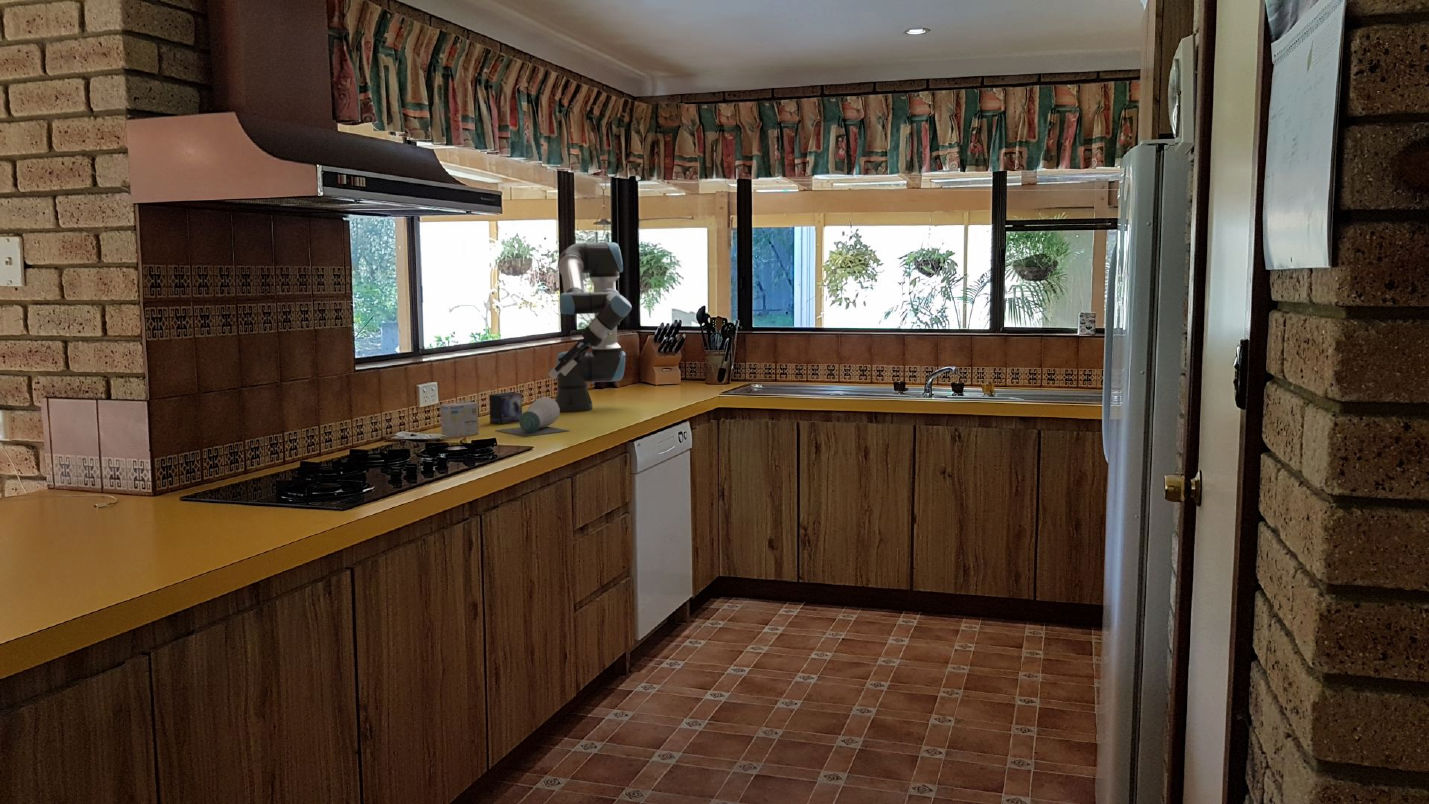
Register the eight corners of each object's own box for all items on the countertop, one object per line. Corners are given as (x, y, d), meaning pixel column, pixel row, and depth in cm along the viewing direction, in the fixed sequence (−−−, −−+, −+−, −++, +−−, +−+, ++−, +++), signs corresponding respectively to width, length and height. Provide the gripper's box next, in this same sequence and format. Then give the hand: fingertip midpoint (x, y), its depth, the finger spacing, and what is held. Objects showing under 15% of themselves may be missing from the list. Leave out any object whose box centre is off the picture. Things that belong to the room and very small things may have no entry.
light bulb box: (468, 432, 363) (467, 401, 362) (479, 434, 358) (478, 402, 357) (440, 436, 356) (439, 404, 354) (451, 438, 351) (449, 405, 349)
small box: (501, 424, 381) (500, 395, 380) (489, 423, 385) (487, 394, 384) (523, 421, 389) (522, 392, 388) (511, 420, 393) (510, 391, 392)
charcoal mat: (538, 425, 376) (538, 424, 376) (569, 431, 361) (569, 430, 361) (495, 431, 365) (495, 430, 365) (525, 436, 350) (525, 435, 350)
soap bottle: (565, 407, 372) (544, 422, 350) (551, 429, 375) (529, 445, 353) (543, 390, 372) (520, 404, 351) (528, 412, 375) (505, 427, 353)
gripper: (593, 341, 363) (553, 386, 367) (612, 337, 388) (574, 379, 392) (578, 326, 364) (537, 370, 368) (598, 323, 388) (559, 364, 392)
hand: (556, 375), depth 380 cm, fingers open, 13 cm apart
